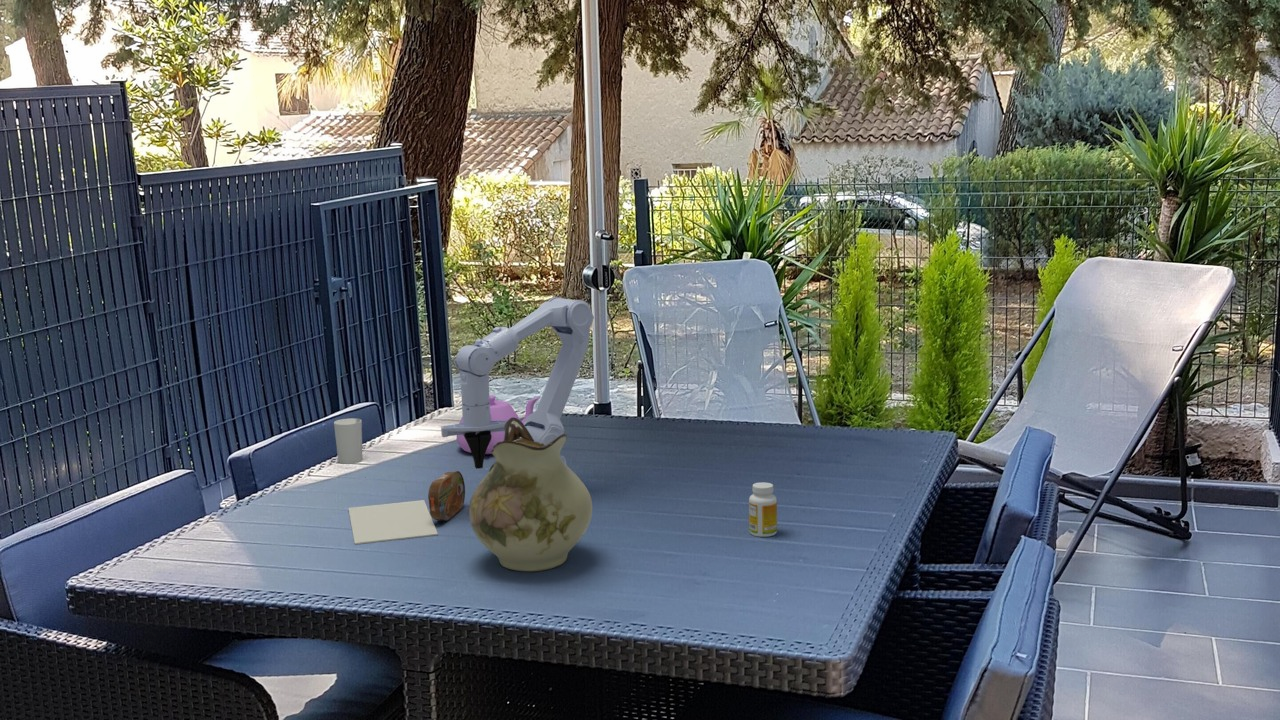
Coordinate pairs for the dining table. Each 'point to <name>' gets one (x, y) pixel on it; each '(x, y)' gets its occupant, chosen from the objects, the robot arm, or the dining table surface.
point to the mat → (391, 522)
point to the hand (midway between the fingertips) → (478, 467)
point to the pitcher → (529, 503)
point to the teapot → (498, 413)
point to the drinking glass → (348, 440)
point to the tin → (446, 495)
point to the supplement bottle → (762, 510)
